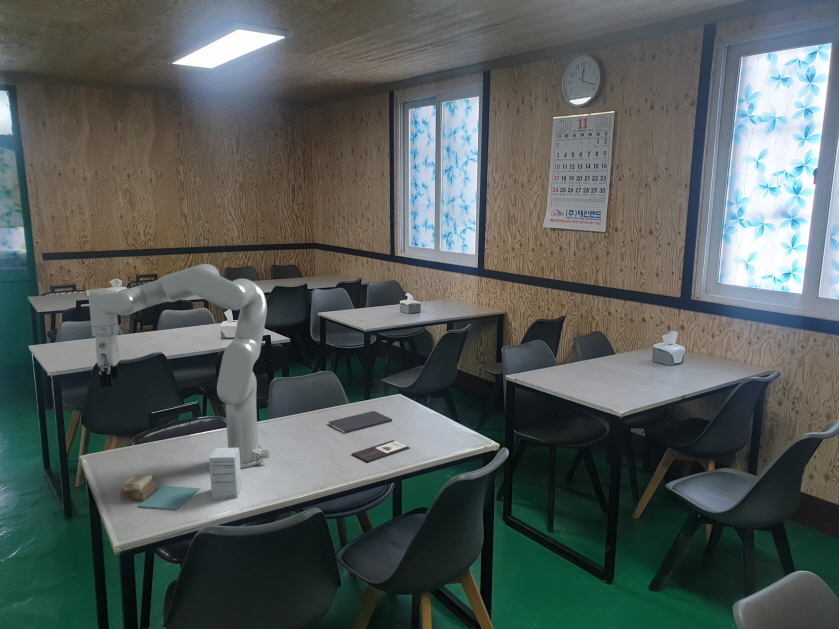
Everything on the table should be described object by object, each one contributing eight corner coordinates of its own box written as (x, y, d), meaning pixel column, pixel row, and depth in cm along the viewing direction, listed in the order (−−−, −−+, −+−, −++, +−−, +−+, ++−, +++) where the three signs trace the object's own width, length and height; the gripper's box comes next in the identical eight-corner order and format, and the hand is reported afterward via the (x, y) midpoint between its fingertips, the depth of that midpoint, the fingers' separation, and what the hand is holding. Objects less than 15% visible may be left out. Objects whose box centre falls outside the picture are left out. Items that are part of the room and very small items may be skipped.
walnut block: (157, 490, 187) (156, 481, 187) (143, 501, 180) (142, 492, 180) (135, 489, 188) (134, 479, 188) (121, 500, 181) (120, 490, 181)
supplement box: (216, 488, 189) (214, 447, 187) (242, 487, 190) (240, 446, 187) (211, 499, 182) (208, 457, 180) (237, 498, 182) (235, 456, 180)
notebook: (344, 435, 233) (392, 422, 246) (344, 430, 233) (392, 418, 246) (327, 425, 243) (374, 414, 256) (327, 421, 243) (374, 410, 255)
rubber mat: (199, 489, 188) (199, 488, 188) (176, 510, 175) (176, 508, 175) (163, 486, 190) (163, 485, 190) (137, 507, 177) (137, 505, 177)
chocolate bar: (351, 453, 213) (392, 440, 225) (351, 456, 213) (392, 442, 225) (367, 461, 207) (409, 447, 218) (367, 464, 207) (409, 449, 219)
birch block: (152, 481, 186) (151, 475, 186) (140, 491, 180) (139, 484, 180) (136, 480, 187) (136, 474, 187) (124, 489, 181) (123, 483, 181)
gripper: (112, 334, 192) (116, 389, 195) (123, 324, 209) (127, 374, 212) (84, 335, 190) (90, 390, 193) (98, 325, 207) (103, 376, 210)
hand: (109, 382), depth 203 cm, fingers open, 9 cm apart
